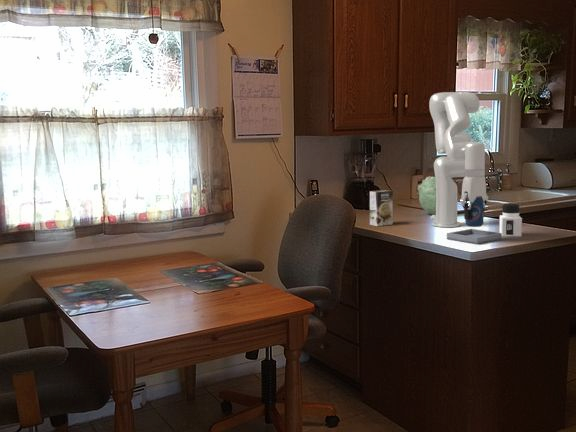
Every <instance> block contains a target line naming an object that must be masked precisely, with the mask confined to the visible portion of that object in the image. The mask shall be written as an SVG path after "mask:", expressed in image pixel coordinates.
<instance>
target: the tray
mask: <svg viewBox="0 0 576 432" xmlns="http://www.w3.org/2000/svg"><path fill="white" fill-rule="evenodd" d="M502 237H503V236H502V233H499V232H496V231H490V230H483V229H475V228H467V229H463V230H456V231H452V232H447V233H446V240H448V241H455V242H460V243H467V244H471V245H472V244H473V245H481V244H485V243H490V242H496V241H500V240H502Z"/></svg>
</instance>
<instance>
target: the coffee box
mask: <svg viewBox="0 0 576 432" xmlns="http://www.w3.org/2000/svg"><path fill="white" fill-rule="evenodd" d="M393 192H394V191H393V190H386V189H384V190H383V189H382V190H371V191H369V226H375V227H382V226H383V225H384V226H391V225H393V222H394V221H393V217H394V216H393V206H394V205H393V204H394V203H393ZM384 226H383V227H384Z"/></svg>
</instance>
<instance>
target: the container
mask: <svg viewBox="0 0 576 432" xmlns="http://www.w3.org/2000/svg"><path fill="white" fill-rule="evenodd" d="M501 207H502V208H501V209H502V215H501V214H500V215H499V229H498V230H499V231H498V233H502V237H522V232H523V230H522V229H523V217H521V216H520V205H519V204H517V203H511V202H509V203H504V204H503V205H502V206H501Z"/></svg>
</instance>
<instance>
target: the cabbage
mask: <svg viewBox="0 0 576 432" xmlns="http://www.w3.org/2000/svg"><path fill="white" fill-rule="evenodd" d="M417 191H418V193H417V195H418V201H419V204H420V205H421V207H422V209H423V210H424V211H425V212H426V213H427V214H429V215H431V216H432V215H436V179H435V176H430V175H429V176H426V178H425V179H422V181H421V184H418V185H417Z"/></svg>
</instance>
